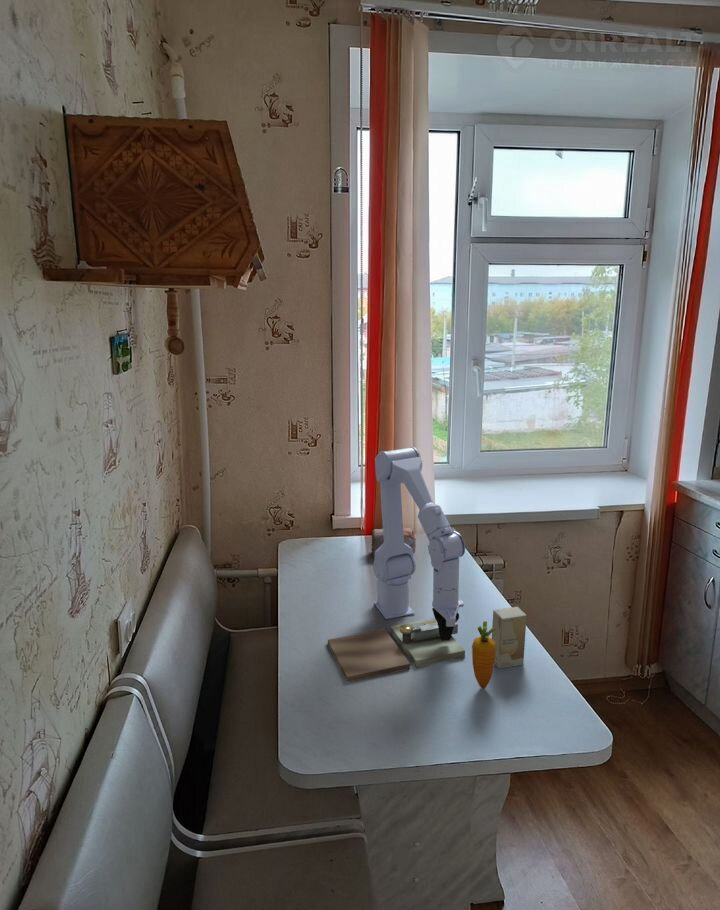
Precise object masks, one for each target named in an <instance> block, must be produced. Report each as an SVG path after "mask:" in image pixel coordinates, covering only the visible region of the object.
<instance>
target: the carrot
mask: <svg viewBox="0 0 720 910" xmlns="http://www.w3.org/2000/svg"><path fill="white" fill-rule="evenodd" d="M494 630H496V628H492V627H491V628H490V629H489V630H488V621H486V620H485V621H484V620H483V623H482V626H481V625H479V626H477V631H478V633H479V635H480V636H478V637H476V638H474V639H473V642H472V645H471V647H472V648H471V649H472V651H471V655H472V668H473V674H474V676H475V677H474V678H475V679H476V682H477V683H478V686H479V687H480V688H481V689H482V690H484V689H486V688H487V687H488V685H489V683H490V681H491V679H492V676H493V672H494V667H495V663H494V662H495V652H496V643H495V641H494V640H492V637H491V638H490V637H489V636H490V635H492V632H493V631H494Z"/></svg>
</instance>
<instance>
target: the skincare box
mask: <svg viewBox="0 0 720 910" xmlns="http://www.w3.org/2000/svg"><path fill="white" fill-rule="evenodd" d="M491 625H492V627H491V629H492V628H496V630H494V631H493V632H492V633H491V639H492V640H494V641H495V643H496V652H495V662H494V665H496V667H498V669H503V668H509V667H515V666H521V665H524V661H525V659H524V658H525V645H526V643H525V642H526V633H527V632H526V630H527V629H526V627H527V614H526V613H525V612H524V611H523V610H522V609H521V608H520V607H519V606H512V607H505V608H499V609H493V611H492V624H491Z"/></svg>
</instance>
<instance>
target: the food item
mask: <svg viewBox="0 0 720 910" xmlns="http://www.w3.org/2000/svg"><path fill="white" fill-rule="evenodd" d="M403 534H404V543H405V544H407V545H408V546H410V547H411V548H412V550H413V555H414V554H415V553H416V547H417V545H416V540H417V538H416V534H415V533H414V531H413V529H412V528H411V527H403ZM383 543H384V536H383V528H374V529H373V530H372V531H371V547H370V548H371V554H372V557H373V558H374V559H375V551H376V550H377V549H378V548H379V547H380V546H381V545H382V544H383Z"/></svg>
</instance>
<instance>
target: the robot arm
mask: <svg viewBox="0 0 720 910" xmlns="http://www.w3.org/2000/svg"><path fill="white" fill-rule="evenodd" d="M420 454H421V453H420V452H419V450H418V449H417V448H416V447H415V446H410V447H406V448H399V449H393V450H386V451H385V450H384V451H383V450H382V451H379V452H378V454H377V455H376V456H375V458H374V465H375V477H376V482H378V483H379V487H380V488H379V489H380V504H381V506H380V507H381V517H382V529H383V536H384V543H383V544H382V545H381V546H380V547H379V548H378V549H377V550H376V551H375V558H374V560H373V573H374V576H375V578H376V579H377V581H376V585H377V586H376V587H377V588H376V589H377V595H376V596H377V600H376V601H373V603H374V605H375V606H376V608H377V609H378V610H379V612H380V613H381V614H382V616H383V617H384V618H385V619H386V620H388V619H394V618H399V617H405V616H411V615H415V610H413V609H412V608H411V606H410V602H409V600H410V598H409V597H410V596H409V592H410V589H409V588H410V587H409V584H410V580H411V579H412V575H414V574H415V572H416V567H417V564H416V560H415V557H414V554H413V550H412V548H411V547H410V546H408V545H407V544H405V543H404V534H403V528H404V521H403V519H404V518H403V505H402V488H401V484H403V485H404V486H405V488H406V489H407V491H408V492H409V494H410V496H411V497H412V499H413V501H414V503H415V504H416V506H417V508H418V510H419V511H418V513H417V519H418V520H419V522H420V524H421V525H420V526H421V527H422V529H423V531H424V533H425V535H426V538H427V539H428V542H429V543H428V545H427V551H428V554H429V557H430V564H431V567H432V569H433V573H432V574H433V577H432V578H433V579H432V580H433V583H432V584H433V586H432V587H433V588H432V601H431V603H432V604H431V606H432V608H431V609H432V613H433V616H434V617H433V618H435V619H436V621H437V624H438V629H439V635H440V638H441V641H448V640H450V639H451V636H452V637H453V634H452V632H453V628H454V626H456V623H457V622H458V621H459V619H460V614H459V609H460V608H463V607H464V601H463V600H462V599H459V597H460V596H459V593H460V592H459V591H460V590H459V587H460V586H459V585H460V558H462V557H463V556H464V555H465V553H466V545H465V544H466V543H465V539H463V536H462V535H461V533H460V532H458V531H456V528H454V527H451V525H450V523H449V521H448V519H447V516H446V515H445V512H444V511H443V509H442V507H441V505H438V504H436V503H434V502H433V499H432V496H431V494H430V491H429V488H428V486H427V484H426V481H425V479H424V476H423V474H422V470H423V459H422V457H421V455H420Z"/></svg>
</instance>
